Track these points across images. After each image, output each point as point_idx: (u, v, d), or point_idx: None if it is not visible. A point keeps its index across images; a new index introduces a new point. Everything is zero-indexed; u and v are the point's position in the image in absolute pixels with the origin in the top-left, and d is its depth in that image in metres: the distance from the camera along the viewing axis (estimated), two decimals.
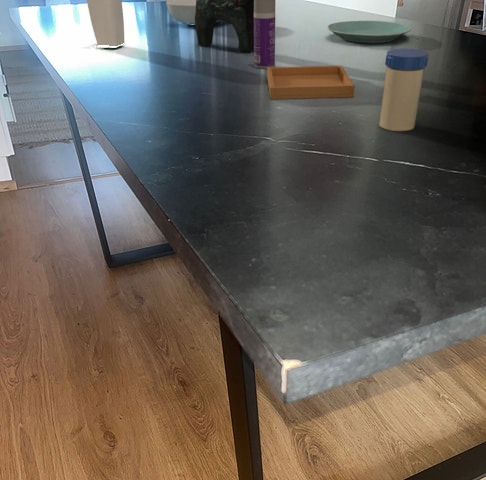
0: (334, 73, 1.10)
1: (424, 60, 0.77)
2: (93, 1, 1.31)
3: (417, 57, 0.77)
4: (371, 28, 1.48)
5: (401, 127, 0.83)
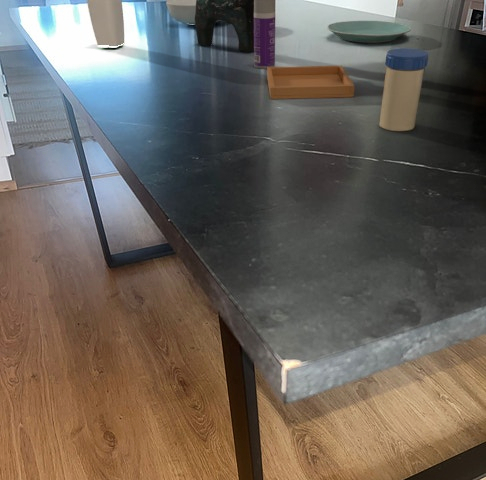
0: (334, 73, 1.10)
1: (424, 60, 0.77)
2: (93, 1, 1.31)
3: (417, 57, 0.77)
4: (371, 28, 1.48)
5: (401, 127, 0.83)
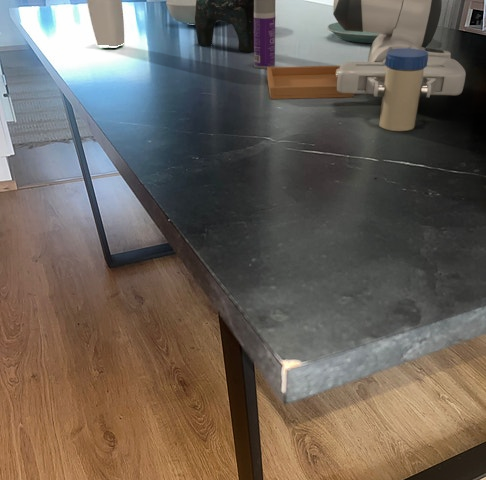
0: (334, 73, 1.10)
1: (424, 60, 0.77)
2: (93, 1, 1.31)
3: (417, 57, 0.77)
4: None
5: (401, 127, 0.83)
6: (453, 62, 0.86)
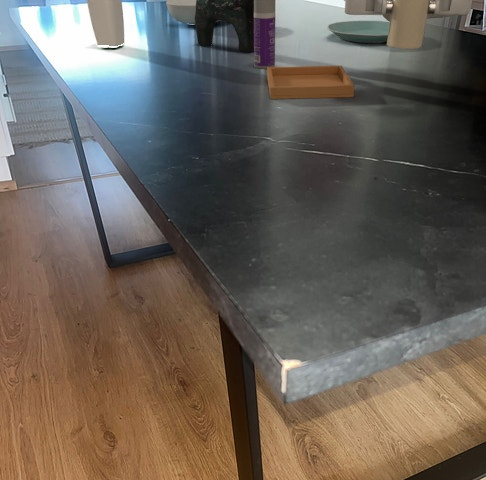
0: (334, 73, 1.10)
1: None
2: (93, 1, 1.31)
3: None
4: (371, 28, 1.48)
5: (409, 44, 0.83)
6: None
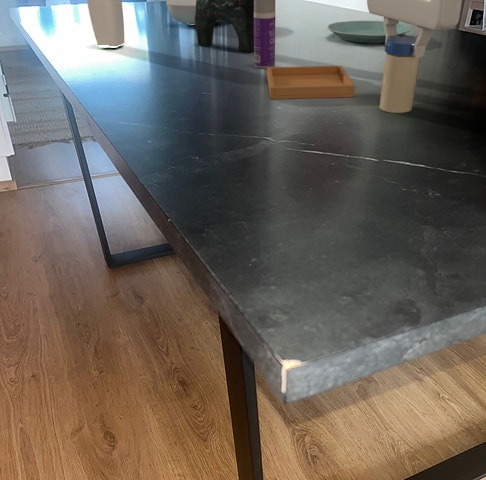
0: (334, 73, 1.10)
1: None
2: (93, 1, 1.31)
3: None
4: (371, 28, 1.48)
5: (399, 109, 0.90)
6: None
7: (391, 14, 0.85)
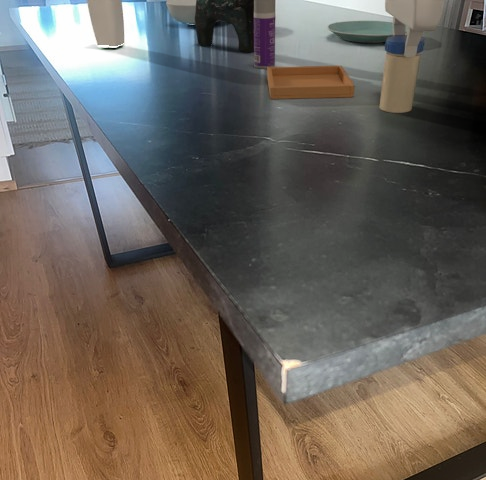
0: (334, 73, 1.10)
1: None
2: (93, 1, 1.31)
3: (402, 35, 0.88)
4: (371, 28, 1.48)
5: (399, 109, 0.90)
6: None
7: None
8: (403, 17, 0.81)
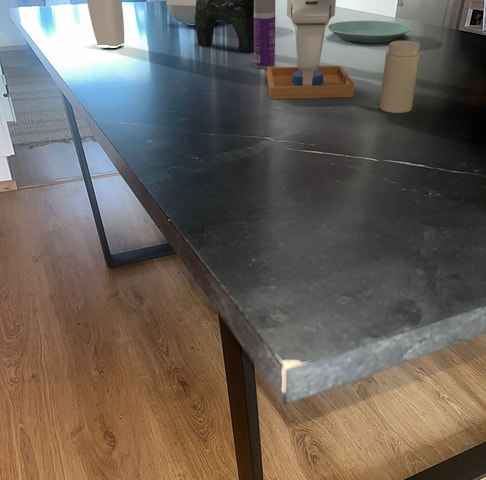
0: (334, 73, 1.10)
1: None
2: (93, 1, 1.31)
3: None
4: (371, 28, 1.48)
5: (399, 109, 0.90)
6: (296, 40, 0.92)
7: None
8: None
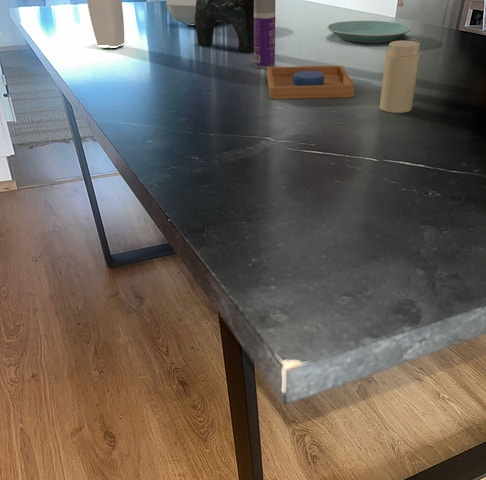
0: (334, 73, 1.10)
1: None
2: (93, 1, 1.31)
3: (309, 71, 1.06)
4: (371, 28, 1.48)
5: (399, 109, 0.90)
6: None
7: None
8: None
